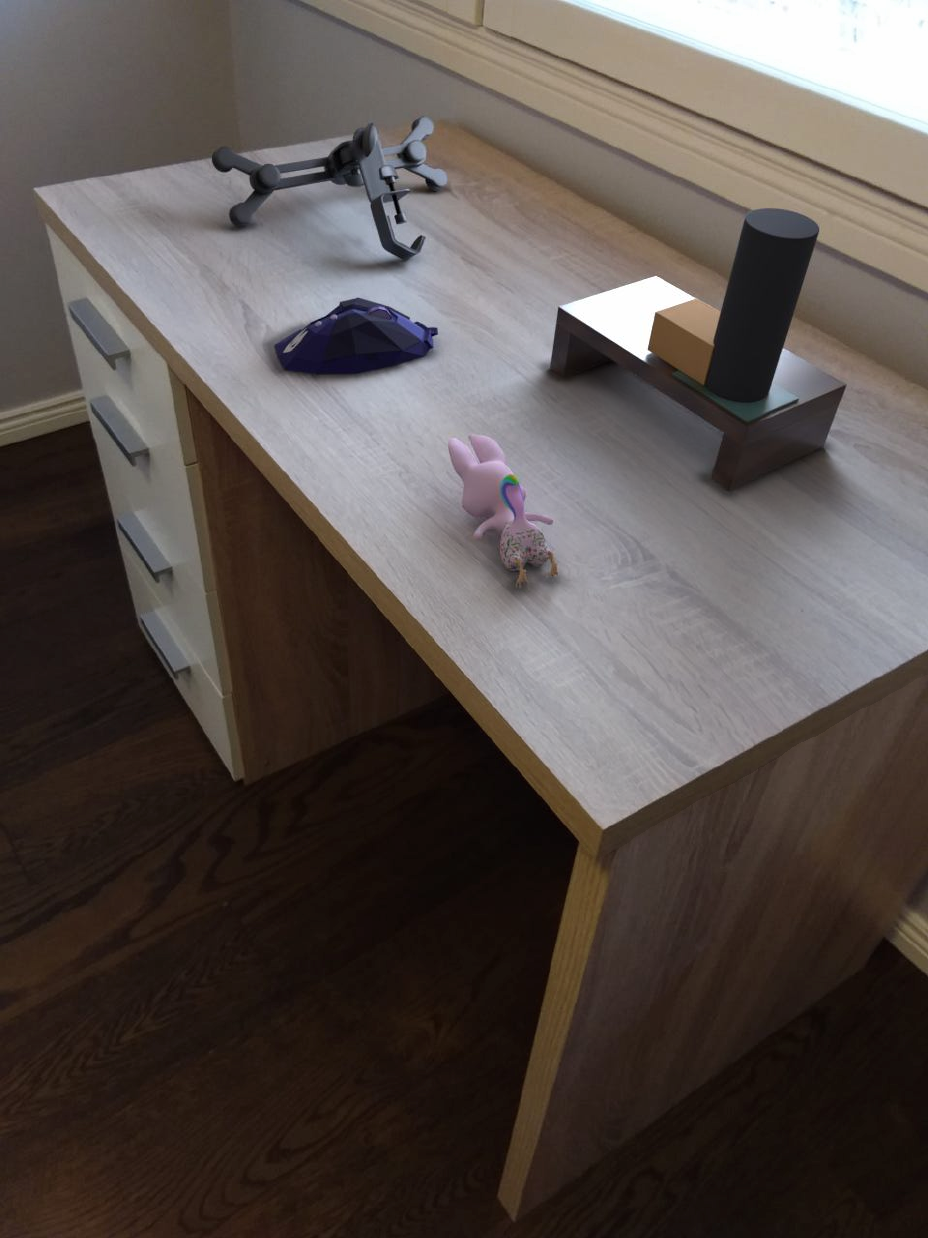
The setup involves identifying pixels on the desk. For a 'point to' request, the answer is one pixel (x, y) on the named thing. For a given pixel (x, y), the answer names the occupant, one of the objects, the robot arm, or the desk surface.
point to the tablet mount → (346, 177)
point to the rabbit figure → (500, 504)
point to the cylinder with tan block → (742, 310)
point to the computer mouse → (355, 340)
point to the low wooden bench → (751, 429)
